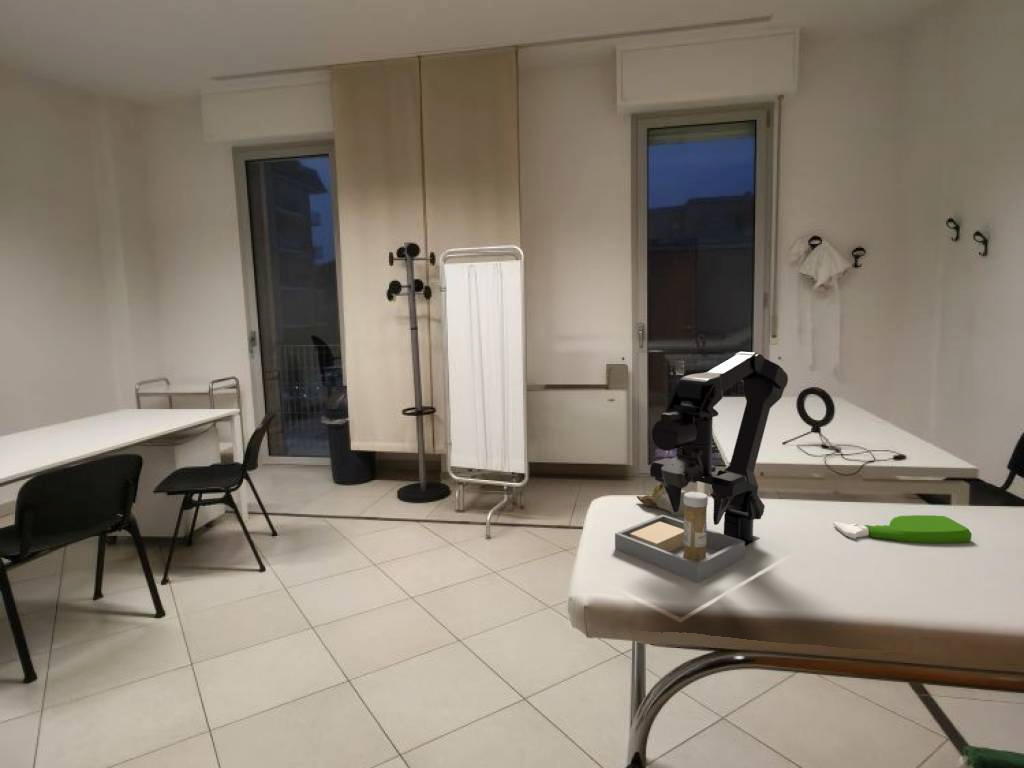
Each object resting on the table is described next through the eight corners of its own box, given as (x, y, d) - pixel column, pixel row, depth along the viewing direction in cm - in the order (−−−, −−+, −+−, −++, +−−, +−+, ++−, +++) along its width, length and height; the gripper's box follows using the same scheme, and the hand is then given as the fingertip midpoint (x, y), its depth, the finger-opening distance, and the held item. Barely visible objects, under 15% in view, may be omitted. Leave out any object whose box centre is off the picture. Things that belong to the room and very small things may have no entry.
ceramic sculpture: (670, 487, 135) (633, 474, 149) (671, 524, 136) (634, 508, 150) (706, 481, 139) (667, 469, 153) (707, 516, 140) (668, 501, 154)
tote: (662, 531, 132) (662, 514, 132) (744, 560, 117) (744, 541, 116) (615, 551, 123) (614, 533, 122) (697, 585, 107) (697, 565, 106)
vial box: (659, 534, 129) (659, 521, 129) (686, 543, 124) (686, 530, 123) (630, 547, 123) (629, 533, 123) (656, 557, 118) (656, 543, 117)
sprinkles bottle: (706, 565, 114) (708, 499, 112) (682, 562, 115) (683, 497, 113) (706, 555, 118) (707, 491, 116) (682, 553, 119) (683, 490, 118)
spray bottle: (976, 545, 121) (853, 547, 123) (941, 525, 132) (829, 527, 134) (977, 532, 121) (853, 533, 123) (942, 513, 131) (829, 514, 133)
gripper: (632, 440, 115) (632, 515, 118) (715, 458, 101) (714, 543, 103) (666, 431, 122) (666, 502, 124) (750, 446, 108) (747, 527, 110)
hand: (695, 517), depth 115 cm, fingers open, 9 cm apart
